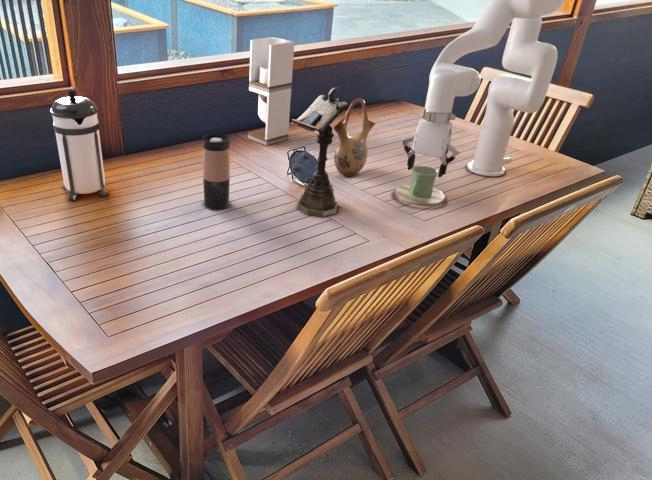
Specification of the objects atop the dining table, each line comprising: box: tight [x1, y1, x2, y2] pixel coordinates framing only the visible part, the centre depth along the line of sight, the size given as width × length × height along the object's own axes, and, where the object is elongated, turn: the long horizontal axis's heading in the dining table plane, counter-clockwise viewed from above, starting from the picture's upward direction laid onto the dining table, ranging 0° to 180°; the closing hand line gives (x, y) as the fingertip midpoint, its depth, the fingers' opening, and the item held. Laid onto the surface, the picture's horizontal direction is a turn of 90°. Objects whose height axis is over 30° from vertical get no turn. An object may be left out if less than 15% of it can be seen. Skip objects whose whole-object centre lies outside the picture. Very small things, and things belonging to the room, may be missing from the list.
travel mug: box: [202, 133, 231, 211], centre depth 163 cm, size 8×8×20 cm
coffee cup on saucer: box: [394, 165, 446, 207], centre depth 175 cm, size 15×15×8 cm
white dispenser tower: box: [247, 36, 296, 146], centre depth 210 cm, size 11×11×35 cm
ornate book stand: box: [290, 86, 349, 217], centre depth 157 cm, size 17×13×35 cm
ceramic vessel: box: [333, 97, 376, 177], centre depth 185 cm, size 16×9×25 cm, turn 121°
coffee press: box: [49, 89, 109, 201], centre depth 165 cm, size 17×16×30 cm
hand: (425, 172), depth 173 cm, fingers open, 9 cm apart
